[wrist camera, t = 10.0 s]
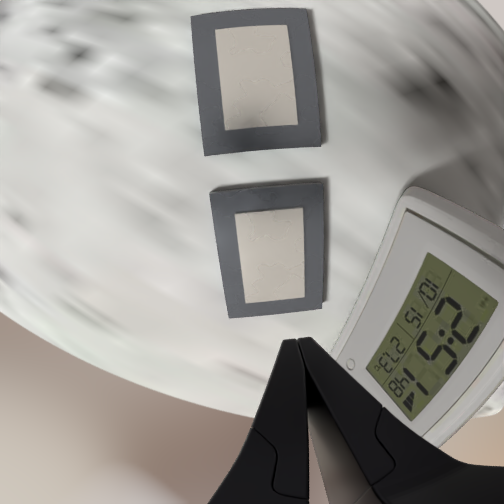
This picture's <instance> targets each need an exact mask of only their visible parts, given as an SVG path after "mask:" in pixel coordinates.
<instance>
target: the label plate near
mask: <svg viewBox="0 0 504 504" xmlns="http://www.w3.org/2000/svg"><path fill="white" fill-rule="evenodd" d="M191 28H192V41H193V53H194V64H195V75H196V85H197V95H198V105H199V114H200V123H201V132H202V140H203V148H204V156H210V155H218V154H227V153H236V152H245V151H256V150H268V149H282V148H299V147H321V132H320V118H319V106H318V95H317V84H316V75H315V66H314V58H313V50H312V43H311V36H310V29H309V23H308V16H307V10H306V9H298V8H267V9H247V10H234V11H225V12H216V13H209V14H202V15H196V16H191Z"/></svg>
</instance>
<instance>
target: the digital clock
mask: <svg viewBox="0 0 504 504" xmlns="http://www.w3.org/2000/svg"><path fill="white" fill-rule="evenodd" d="M330 356H331V357H332V358H333V359H334V360H335V361H337V362H338V363H339V364H340V365H341V366H342V367H343V368H344V369H345V370H346V371H347V372H348V373H349V374H350V375H351V376H352V377H353V378H354V379H355V380H357V381H358V382H359V383H360V384H361V385H362V386H363V387H364V388H365V389H366V390H367V391H368V392H369V393H370V394H371V395H372V396H374V397H375V398H376V399H377V400H378V401H379V402H380V403H381V404H382V405H383V407H385V408H387V409H388V410H389V411H390V412H391V413H392V414H393V415H394V416H395V417H397V418H398V419H399V420H400V421H401V422H402V423H403V424H405V425H406V426H407V427H409V428H410V429H411V430H413V431H414V432H415V433H417V434H418V435H419V436H421V437H422V438H424V439H425V440H427V441H428V442H430V443H431V444H433V445H434V446H436V447H437V448H439V447H440V446H442V445H443V444H444V443H445V442H446V441H447V440H449V439H450V438H451V437H452V436H453V435H454V434H455V433H456V432H457V431H458V430H459V429H460V428H461V427H462V426H463V425H464V424H465V423H466V422H467V421H468V420H469V419H470V418H471V417H472V416H473V415H474V414H475V413H476V412H477V411H478V410H479V409H480V408H481V407H482V406H483V405H484V403H485V402H486V401H487V400H488V399H489V398H490V397H491V395H492V394H493V393H494V392H495V391H496V390H497V388H498V387H499V386H500V385H501V383H502V382H503V381H504V229H502V228H501V227H499V226H497V225H495V224H494V223H492V222H490V221H488V220H487V219H485V218H483V217H481V216H479V215H477V214H475V213H474V212H472V211H470V210H468V209H466V208H464V207H462V206H460V205H458V204H456V203H454V202H452V201H450V200H448V199H445V198H443V197H441V196H439V195H437V194H435V193H432V192H430V191H428V190H426V189H423V188H420V187H416V186H412V187H409V188H408V189H407V190H406V191H405V192H404V193H403V195H402V196H401V198H400V199H399V201H398V203H397V205H396V207H395V210H394V212H393V215H392V218H391V220H390V223H389V225H388V228H387V231H386V233H385V236H384V238H383V241H382V244H381V246H380V249H379V251H378V254H377V256H376V259H375V261H374V263H373V266H372V268H371V270H370V273H369V275H368V277H367V280H366V282H365V284H364V286H363V289H362V291H361V293H360V295H359V297H358V300H357V302H356V304H355V306H354V308H353V310H352V312H351V314H350V316H349V318H348V320H347V323H346V325H345V327H344V328H343V330H342V332H341V334H340V336H339V338H338V340H337V342H336V344H335V346H334V348H333V350H332V352H331V353H330Z"/></svg>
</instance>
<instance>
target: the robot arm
mask: <svg viewBox="0 0 504 504" xmlns="http://www.w3.org/2000/svg"><path fill="white" fill-rule="evenodd" d="M251 427H252V428H250V431H249V433H248V435H247V438H246V440H245V442H244V444H243V447H242V449H241V451H240V453H239V455H238V457H237V459H236V460H235V462H234V464H233V466H232V468H231V469H230V471H229V472H228V474H227V475H226V477H225V479H224V480H223V482H222V483H221V485H220V486H219V488H218V489H217V491H216V492H215V493H214V495H213V496H212V498H211V499H210V501H209V502H208V504H309V501H308V500H309V437H308V428H309V431H310V435H311V439H312V442H313V446H314V450H315V453H316V457H317V461H318V464H319V468H320V471H321V475H322V478H323V482H324V486H325V490H326V493H327V497H328V501H329V504H504V467H501V466H483V465H473V464H467V463H464V462H461V461H458V460H456V459H454V458H452V457H450V456H449V455H447V454H446V453H444V452H443V451H441V450H440V449H438V448H437V447H436V446H434V445H433V444H431V443H430V442H428V441H427V440H425V439H424V438H422V437H421V436H419V435H418V434H417V433H415V432H414V431H413V430H411V429H410V428H409V427H407V426H406V425H405V424H403V423H402V422H401V421H400V420H399V419H398V418H397V417H395V416H394V415H393V414H392V413H391V412H390V411H389V410H388V409H387V408H385V407H383V405H382V404H381V403H380V402H379V401H378V400H377V399H376V398H375V397H374V396H372V395H371V394H370V393H369V392H368V391H367V390H366V389H365V388H364V387H363V386H362V385H361V384H360V383H359V382H358V381H357V380H355V379H354V378H353V377H352V376H351V375H350V374H349V373H348V372H347V371H346V370H345V369H344V368H343V367H342V366H341V365H340V364H339V363H338V362H337V361H335V360H334V359H333V358H332V357H331V356H330V355H329V354H328V353H327V352H326V351H325V350H324V349H323V348H322V347H321V346H320V345H319V344H318V343H317V342H316V341H315V340H314V339H313V338H311V337H304V338H298V339H297V340H296V339H286V340H283V341H282V344H281V347H280V350H279V352H278V355H277V358H276V361H275V364H274V367H273V370H272V372H271V375H270V378H269V381H268V384H267V386H266V389H265V392H264V394H263V397H262V400H261V402H260V405H259V408H258V410H257V413H256V415H255V418H254V421H253V423H252V426H251Z"/></svg>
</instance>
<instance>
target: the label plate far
mask: <svg viewBox="0 0 504 504" xmlns="http://www.w3.org/2000/svg"><path fill="white" fill-rule="evenodd" d="M209 195H210V202H211V209H212V216H213V223H214V230H215V236H216V243H217V250H218V256H219V262H220V269H221V275H222V281H223V287H224V293H225V299H226V305H227V311H228V316H229V318H241V317H252V316H263V315H273V314H282V313H291V312H299V311H308V310H316V309H322V297H323V265H324V200H323V183H321V182H313V183H297V184H284V185H271V186H260V187H250V188H240V189H230V190H221V191H213V192H210V194H209Z"/></svg>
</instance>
